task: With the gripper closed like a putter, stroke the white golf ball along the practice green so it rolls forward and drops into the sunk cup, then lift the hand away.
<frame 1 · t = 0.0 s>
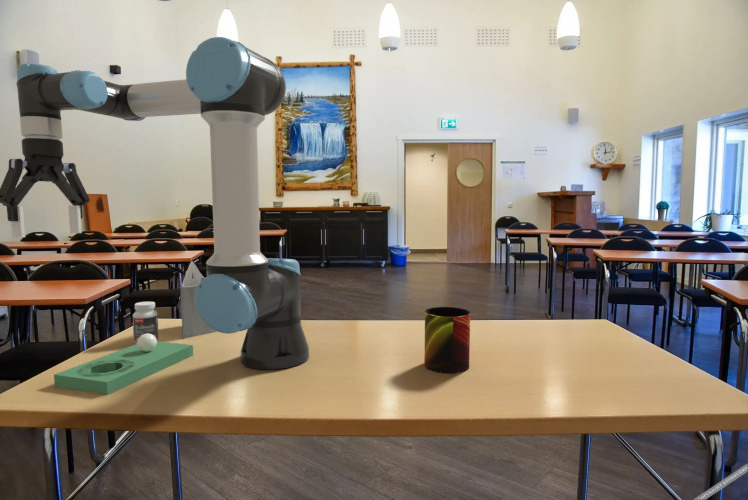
hand: (49, 235, 108), 28 cm above the table, fingers open, 13 cm apart
ball: (146, 342, 107), point 4 cm above the table, touching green
planter: (207, 330, 133), on the table
mug: (444, 363, 107), on the table
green: (130, 369, 102), on the table
pill bottle: (146, 342, 123), on the table
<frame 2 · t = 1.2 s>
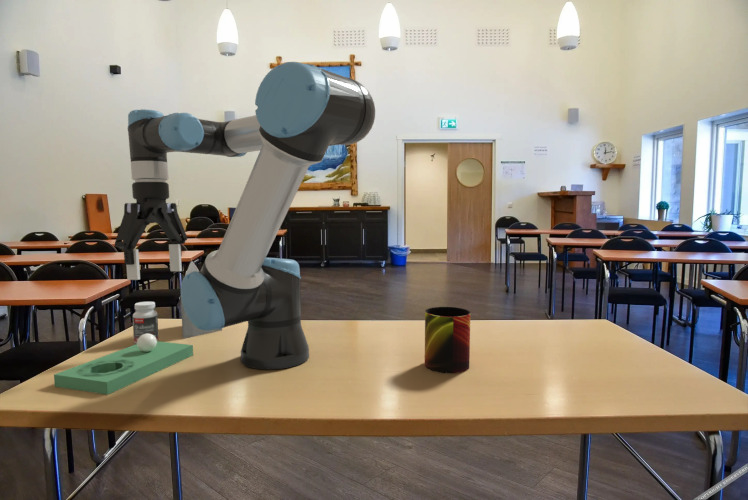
hand: (156, 275, 110), 19 cm above the table, fingers open, 13 cm apart
nothing on the table moved.
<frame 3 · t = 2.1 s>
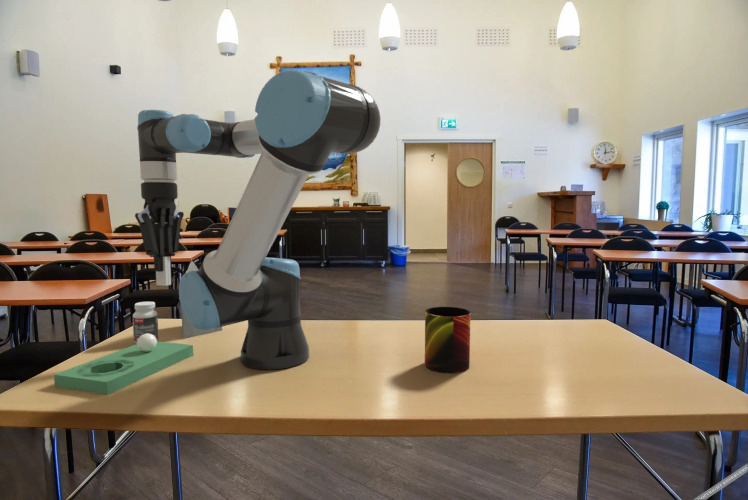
hand: (163, 284, 111), 16 cm above the table, fingers closed
nothing on the table moved.
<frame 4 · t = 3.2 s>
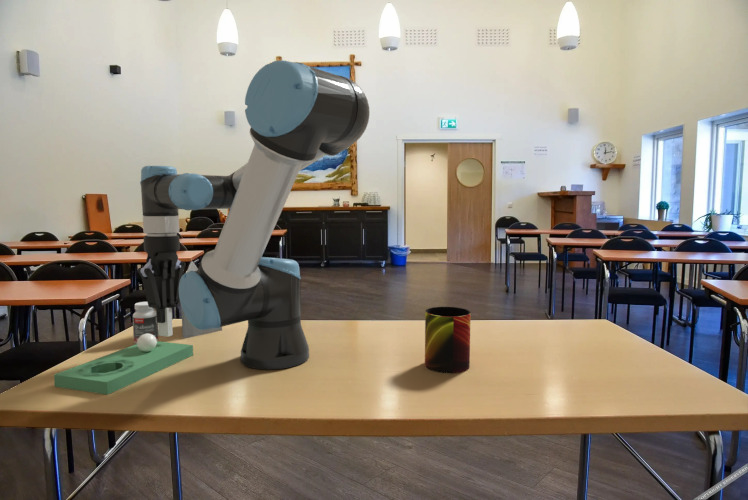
hand: (165, 335, 112), 4 cm above the table, fingers closed
nothing on the table moved.
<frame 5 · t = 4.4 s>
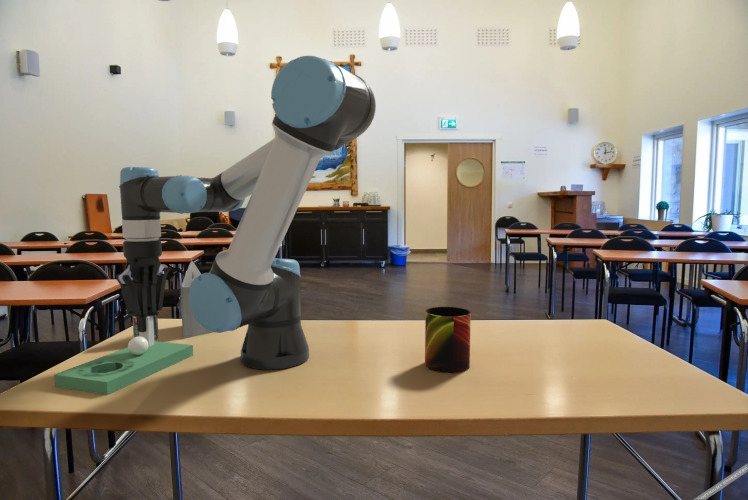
hand: (147, 344, 107), 4 cm above the table, fingers closed
ball: (138, 345, 104), point 4 cm above the table, tilted 66°, touching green
everything else where it was.
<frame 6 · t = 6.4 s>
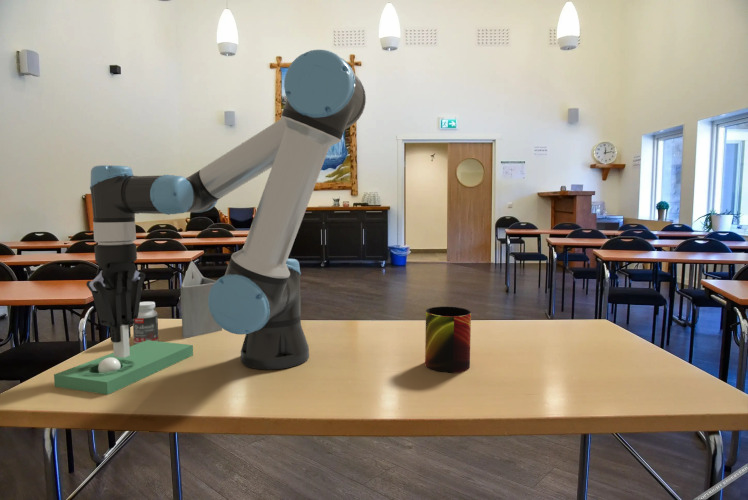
hand: (121, 355, 100), 4 cm above the table, fingers closed
ball: (109, 367, 97), point 2 cm above the table, tilted 64°, touching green
everything else where it was.
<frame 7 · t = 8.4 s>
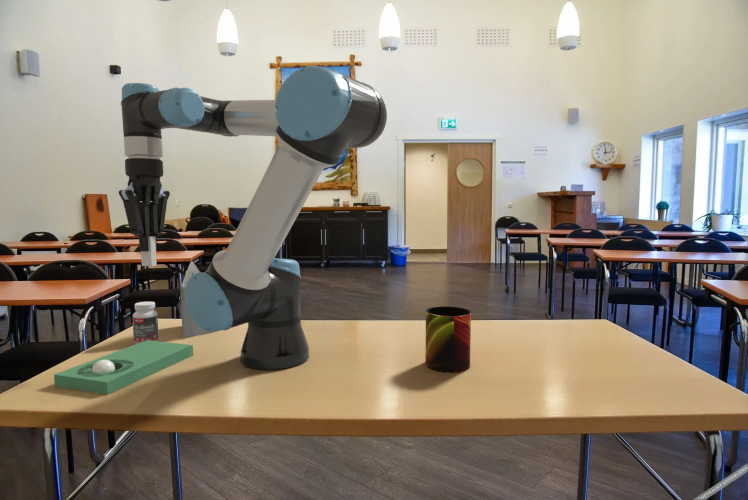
hand: (149, 265, 107), 21 cm above the table, fingers closed
ball: (103, 369, 96), point 2 cm above the table, tilted 22°, touching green
everything else where it was.
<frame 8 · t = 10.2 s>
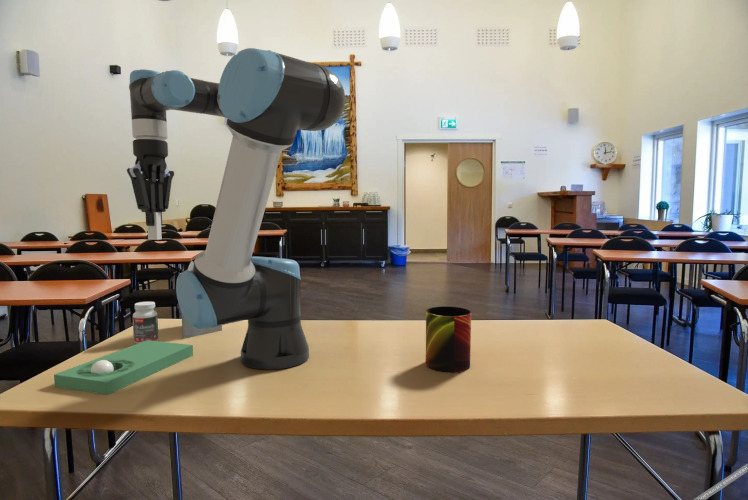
hand: (154, 239, 116), 26 cm above the table, fingers closed
ball: (102, 370, 95), point 2 cm above the table, tilted 14°, touching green
everything else where it was.
at the end: ball 1.0 cm from the target spot in the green, point 2.2 cm above the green's base; the gripper is holding nothing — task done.
